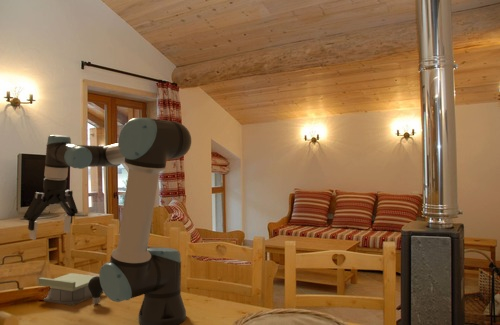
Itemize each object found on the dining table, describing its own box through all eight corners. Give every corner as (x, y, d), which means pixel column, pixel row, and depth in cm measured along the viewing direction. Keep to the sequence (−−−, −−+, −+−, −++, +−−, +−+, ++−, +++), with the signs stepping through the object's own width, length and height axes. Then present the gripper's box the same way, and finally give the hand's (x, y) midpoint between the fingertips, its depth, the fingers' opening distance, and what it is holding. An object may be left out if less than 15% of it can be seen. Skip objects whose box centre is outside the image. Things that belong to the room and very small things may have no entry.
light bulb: (99, 307, 145) (99, 279, 145) (84, 306, 146) (84, 278, 146) (107, 302, 151) (107, 274, 151) (93, 301, 152) (93, 274, 152)
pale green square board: (103, 279, 162) (103, 271, 162) (72, 291, 147) (72, 282, 147) (71, 275, 168) (71, 268, 168) (38, 286, 153) (38, 278, 153)
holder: (103, 292, 162) (103, 280, 162) (72, 305, 147) (72, 292, 147) (71, 288, 168) (71, 276, 168) (38, 300, 153) (38, 287, 153)
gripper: (77, 174, 160) (72, 227, 162) (15, 177, 138) (10, 239, 140) (91, 178, 157) (85, 232, 159) (29, 182, 135) (23, 244, 137)
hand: (50, 235), depth 150 cm, fingers open, 13 cm apart
